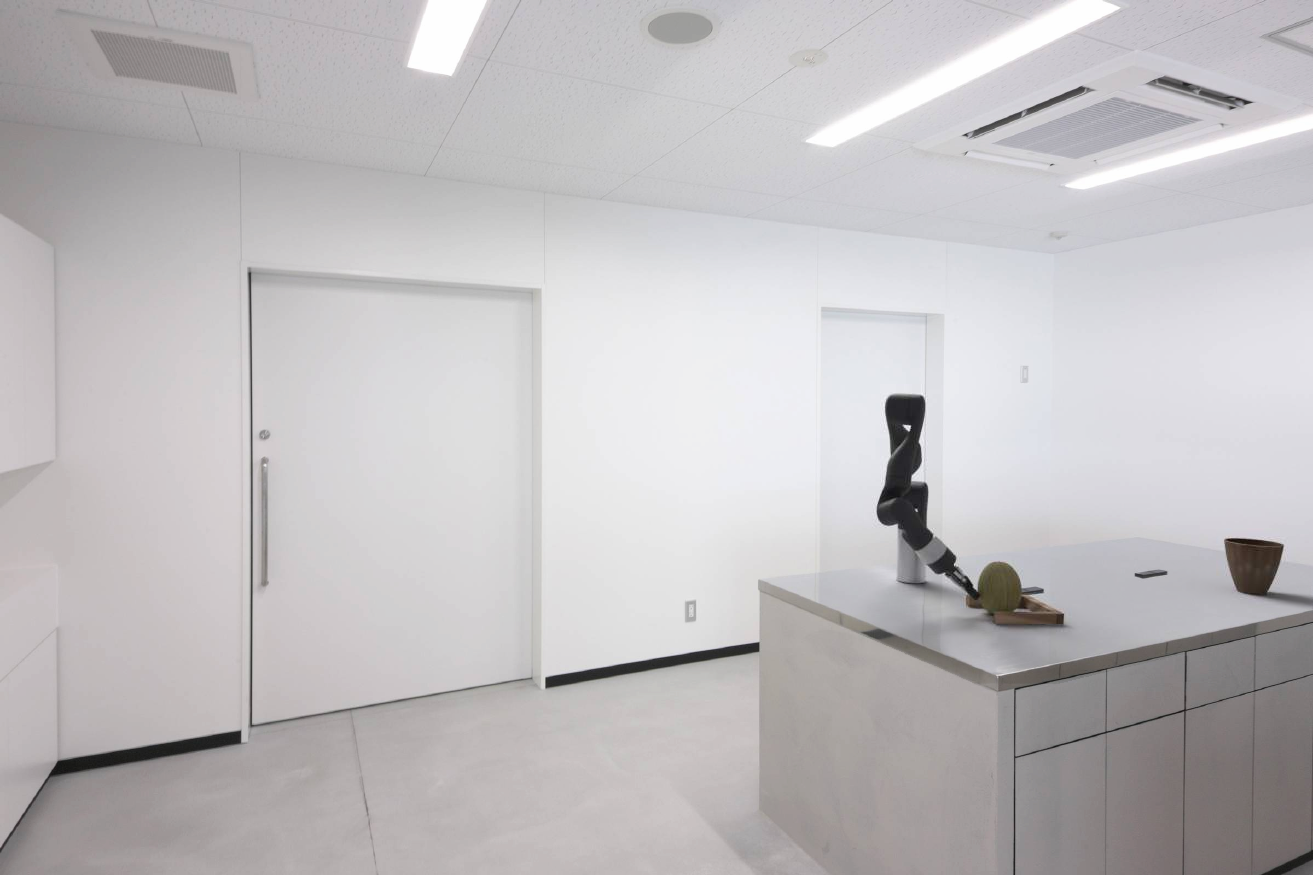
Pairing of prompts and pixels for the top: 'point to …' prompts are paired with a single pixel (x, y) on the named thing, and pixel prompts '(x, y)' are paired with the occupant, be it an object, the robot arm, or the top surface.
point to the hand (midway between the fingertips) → (977, 597)
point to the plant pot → (1253, 563)
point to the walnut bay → (1024, 613)
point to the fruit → (999, 587)
